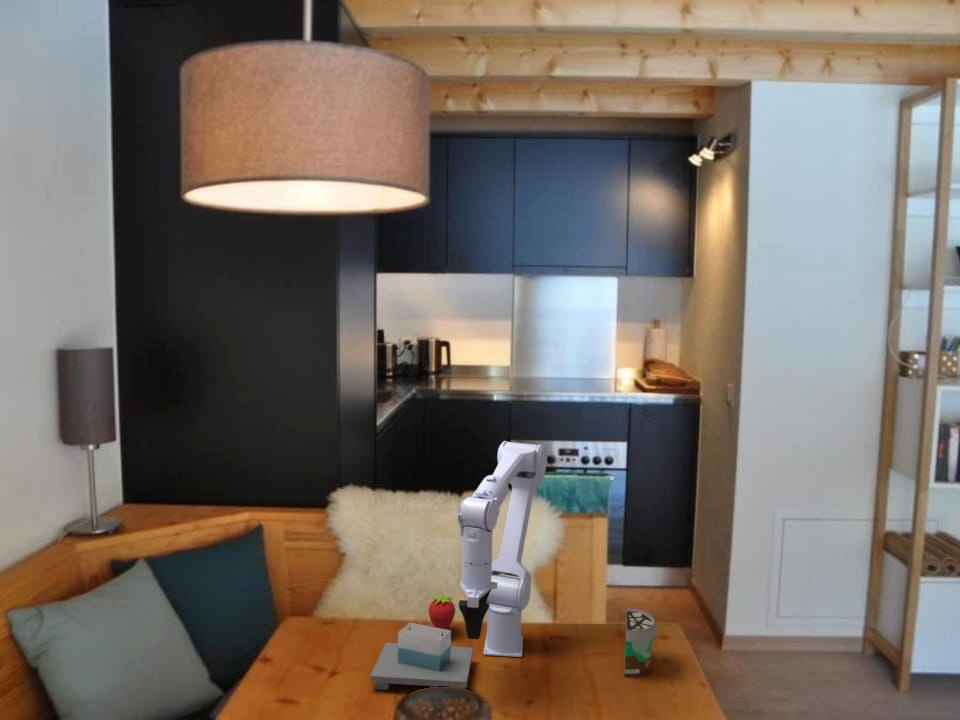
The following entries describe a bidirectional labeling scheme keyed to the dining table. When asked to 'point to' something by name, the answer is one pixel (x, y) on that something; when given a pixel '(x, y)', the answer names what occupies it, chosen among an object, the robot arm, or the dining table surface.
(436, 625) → the strawberry
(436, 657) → the housing
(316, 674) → the dining table surface
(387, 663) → the stand
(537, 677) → the dining table surface
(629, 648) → the food container
